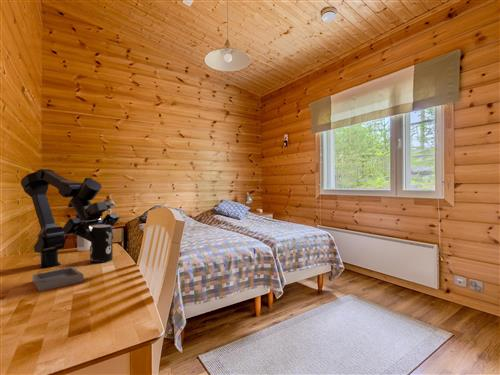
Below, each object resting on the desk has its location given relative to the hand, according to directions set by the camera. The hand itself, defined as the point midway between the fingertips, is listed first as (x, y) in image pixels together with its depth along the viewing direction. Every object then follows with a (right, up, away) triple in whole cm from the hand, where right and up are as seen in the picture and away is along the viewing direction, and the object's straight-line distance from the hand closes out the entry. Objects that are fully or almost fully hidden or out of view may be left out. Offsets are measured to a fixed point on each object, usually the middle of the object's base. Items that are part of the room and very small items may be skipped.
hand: (104, 240), depth 95 cm
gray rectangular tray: (-14, -13, -4) cm, 19 cm away
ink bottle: (-13, -13, +21) cm, 27 cm away
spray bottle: (-31, -13, +39) cm, 51 cm away
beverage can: (-1, -7, +1) cm, 7 cm away
